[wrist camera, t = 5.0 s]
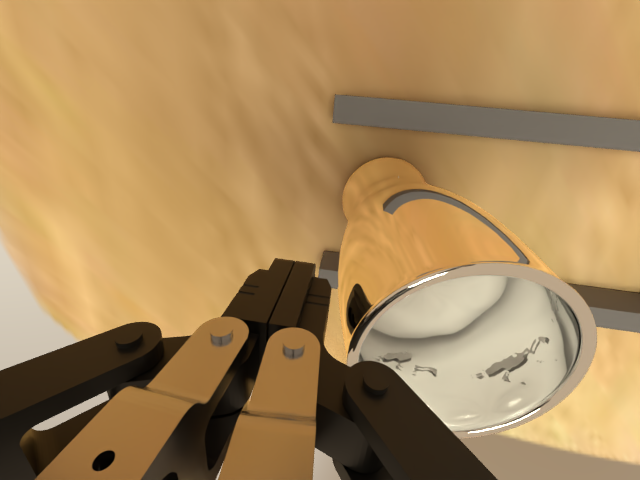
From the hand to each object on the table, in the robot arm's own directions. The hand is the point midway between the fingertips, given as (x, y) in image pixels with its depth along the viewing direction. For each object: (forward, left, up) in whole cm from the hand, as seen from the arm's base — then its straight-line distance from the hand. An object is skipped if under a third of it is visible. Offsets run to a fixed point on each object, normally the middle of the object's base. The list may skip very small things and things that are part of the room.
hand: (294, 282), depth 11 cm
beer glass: (0, +4, -12) cm, 13 cm away
